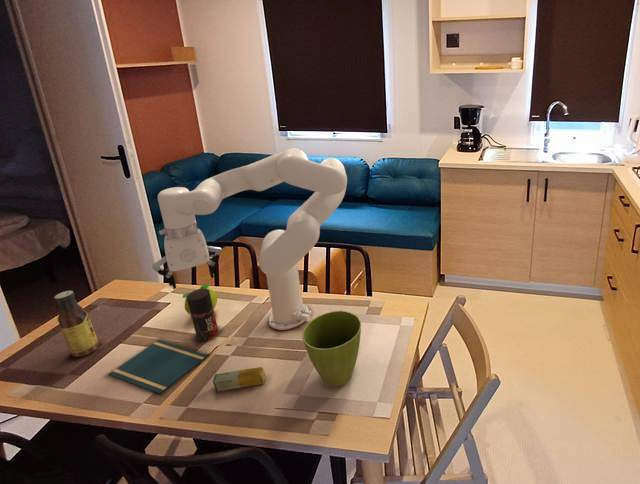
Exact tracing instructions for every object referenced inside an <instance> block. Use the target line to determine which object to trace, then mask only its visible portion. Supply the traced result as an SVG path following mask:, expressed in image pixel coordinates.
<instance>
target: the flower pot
mask: <svg viewBox="0 0 640 484" xmlns="http://www.w3.org/2000/svg"><path fill="white" fill-rule="evenodd" d="M361 331H362V322H361V319H360V318H359V317H358V315H356V314H354V313H352V312H349V311H346V310H335V311H329V312H326V313H323V314H320V315H317V316H316V317H315V318H313V319H311V320H310V321H308V323H307V324H306V325H305V327H304V328H303V330H302V334H301V335H302V336H301V337H302V341H303V344H304V348H305V351H306V352H307V355H308V358H309V359H310V361H311V363H312V365H313V367H314V370H315V371H316V372H317V374H318V375H319V377H320V379H322V381H323V383H324V384H325V385H326V386H328V387H330V388H339V387H342V386H345V385H346V384H347V383H348V382H349V381H350V380H351V379H352V376H353V374H354V370H355V367H356V364H357V360H358V355H359V350H360V345H361V344H360V343H361V334H362V333H361Z"/></svg>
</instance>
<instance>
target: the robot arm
mask: <svg viewBox="0 0 640 484" xmlns="http://www.w3.org/2000/svg"><path fill="white" fill-rule="evenodd" d="M282 183H286V184H288V185H291V186H293V187H297V188H301V189H304V190H308V191H312V192H313V193H312V195H310V196H309V198H308V199H307V200H305V201H304V202H303V203H302V205H300V206H299V207H298V208H297V209H296V210H295V211H294V212H292V213H291V214H290V216H289V217H288V219H287V222H286V228H285V230H284V229H274V230H272V231H270V232H268V233H267V234H266V235H265V236H264V238H263V240H262V243H261V246H260V250H259V256H258V267H259V269H260V270H261V272H262V273H264V274H265V277H266V283H267V289H268V295H269V300H270V305H271V314H270V315H269V317H268V324H269V326H270V327H271V328H272V329H274V330H279V331H280V330H281V331H284V330H290V329H294V328H296V327H298V326H300V325H302V324H303V323H304V322H310V321H311V320H312V319H311V318H312V316H311V315H312V314H313V310H309V307H308V306H307V305H306V303H304V302H303V296H302V295H303V294H302V289H301V281H300V276H299V275H300V273H299V266H298V263H299V262H300V261H301V260H302V259H303V258H304V257H305V256H307V254H308V253H309V252H310V251H311V250H312V249H313V248H314V247H315V245H316V244H317V243H318V241H319V239H320V234H321V226H322V224H323V223H325V222H326V220H327V219H328V218H329V217H330V216H331V215H332V214H333V213H334V212H336V210H337V209H338V208H339V206H340V205H341V203H342V202H343V199H344V198H345V195H346V191H347V185H348V175H347V172H346V168H345V166H344V164H343V162H341V160H339V159H337V158H334V157H328V158H325V159H323V160H322V161H321V162H320V163H319V162H316V161H313V160H310V159H309V158H308V156H307V154H306V153H305V152H304V151H303V150H301V148H296V147H292V148H287V149H284V150H282V151H279V152H277V153H275V154H272V155H270V156H267V157H264V158H262V159H260V160H257V161H255V162H253V163H250V164H247V165H243V166H240V167H235V168H232V169H229V170H226V171H223V172H221V173H219V174H216V175H214V176H211V177H209V178H206V179H205V180H203V181H201V182H200V183H199V184H198V185H197V186H196V188H195V189H193V190H191V191H190V190H189V189H188V188H186V187H183V186H175V187H168V188H166V189H163V190H161V191H159V193H158V194H157V202H158V205H159V209H160V214H161V219H162V222H163V226H164V227H163V229H161V230H158V233H159V236H164V240H163V246H164V254H165V256H163V257H162V258H160V259H159V260H157V261H156V262H154V263H152V265H151V268H152V270H154V271H155V272H156V273H157V274H158V275H159V276H163V277H165V278H167V281H168V285H169V287H172V289H173V290H176V289H177V284H176V283H177V282H176V280H175V275H174V273H175V272H179V271H184V270H187V269H191V268H194V267H198V266H201V265H205V264H207V266H208V271H209V275H210V278H211V279H213V278H215V275H214V274H216V267H215V265H216V263H217V262H218V261H219V260H220V256H221V254H222V252H223V249H222V248H221V247H218V246H212V245H208V244H207V241H206V237H205V236H204V234H203V232H202V230H201V229H200V228H198V223H197V219H196V216H206V215H211V214H213V213H215V212H216V210H217V209H218V208H219V207H220V205H221V203H222V201H223V200H224V199H226V198H228V197H231V196H234V195H235V194H238V193H241V192H244V191H250V190H251V191H255V192H263V191H266V190H268V189H270V188H273V187H274V186H277V185H280V184H282ZM209 252H211V253H214V255H213V256H212V257H211V256H210V253H209ZM165 264H166V265H167V269H166V268H164V267H163V268H162V267H161V266H163V265H165Z"/></svg>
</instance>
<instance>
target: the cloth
mask: <svg viewBox="0 0 640 484" xmlns="http://www.w3.org/2000/svg"><path fill="white" fill-rule="evenodd" d="M207 357H208V355H207V354H204V353H201V352H199V351H195V350H192V349H189V348H185V347H182V346H179V345H176V344H173V343H170V342H166V341H164V340H160V339H158V340H157V341H154V342H153V343H152V344H151V345H149V346H148V347H146V348H145V349H143V350H142V351H140V352H139V353H137V354H136V355H134V356H133V357H132V358H130V359H128V360H126V361H125V362H124V363H122V364H121V365H119V366H118V367H116V368H114V369H113V370H111V371H110V372H109V373H108V376H110V377H113V378H117V379H119V380H122V381H125V382H127V383H129V384H132V385H135V386H137V387H140V388H142V389H145V390H148V391H151V392H153V393H156V394H159V395H161V394H162V393H164V392H165V391H167V389H169V388H170V387H171V386H173V384H175V383H176V382H178V381H179V380H180V379H181V378H182V377H183V376H185V375H186V374H187V373H189V372H190V371H191V370H192V369H193V368H195V367H196V366H197V365H198V364H200V363H201V362H202V361H204V360H205V359H206V358H207Z"/></svg>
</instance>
